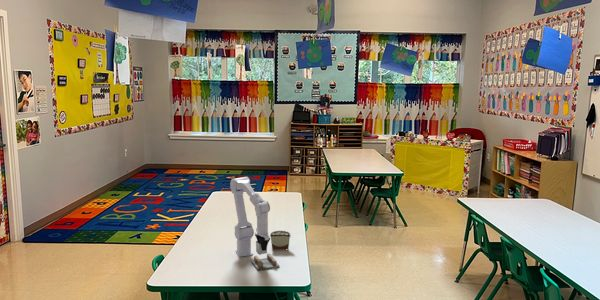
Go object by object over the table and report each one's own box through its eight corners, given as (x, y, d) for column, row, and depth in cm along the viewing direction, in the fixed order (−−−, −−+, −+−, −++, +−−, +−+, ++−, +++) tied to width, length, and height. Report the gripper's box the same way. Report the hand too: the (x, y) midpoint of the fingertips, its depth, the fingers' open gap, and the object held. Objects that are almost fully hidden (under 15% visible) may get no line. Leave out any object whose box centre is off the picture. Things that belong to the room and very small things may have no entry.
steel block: (256, 251, 238) (255, 241, 237) (264, 250, 240) (263, 239, 239) (259, 254, 234) (258, 243, 233) (267, 253, 236) (266, 242, 235)
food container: (290, 246, 266) (290, 230, 264) (290, 250, 260) (290, 233, 258) (270, 246, 266) (270, 230, 264) (269, 250, 260) (269, 233, 258)
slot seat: (251, 262, 242) (251, 256, 242) (271, 258, 247) (271, 252, 246) (258, 270, 231) (257, 264, 231) (279, 267, 236) (279, 261, 236)
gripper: (250, 221, 240) (250, 245, 242) (260, 229, 227) (260, 254, 229) (263, 219, 243) (263, 243, 245) (272, 227, 230) (272, 252, 232)
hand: (262, 248), depth 237 cm, fingers closed on steel block, 4 cm apart
